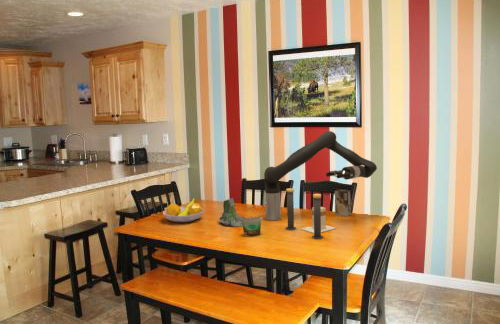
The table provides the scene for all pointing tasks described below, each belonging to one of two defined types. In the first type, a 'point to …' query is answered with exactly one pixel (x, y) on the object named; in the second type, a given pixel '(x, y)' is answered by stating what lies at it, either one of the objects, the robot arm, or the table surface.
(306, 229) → the mat
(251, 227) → the food container
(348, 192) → the coffee box
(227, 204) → the tree stump
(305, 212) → the table surface
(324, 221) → the carton
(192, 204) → the fruit bowl
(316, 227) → the gate
